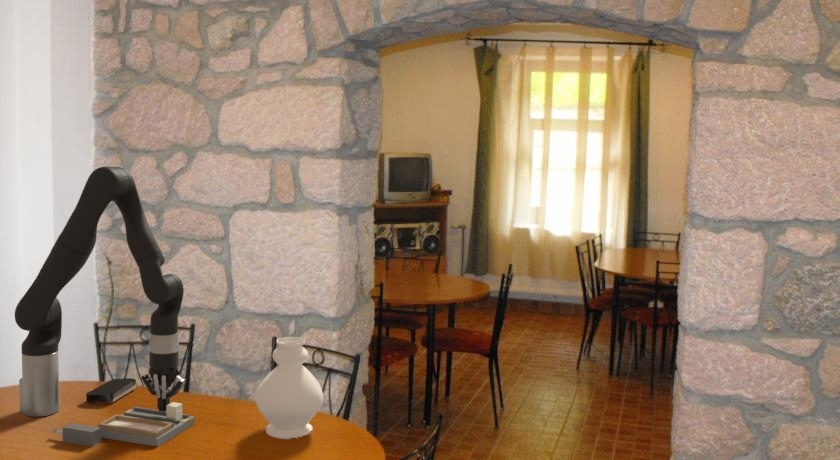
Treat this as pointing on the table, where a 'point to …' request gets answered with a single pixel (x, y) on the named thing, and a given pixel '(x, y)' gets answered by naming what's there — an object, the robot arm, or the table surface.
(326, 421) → the table surface
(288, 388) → the decorative vase
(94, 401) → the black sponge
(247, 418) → the table surface
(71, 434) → the grey block with bolt
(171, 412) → the switch tab
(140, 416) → the switch board
